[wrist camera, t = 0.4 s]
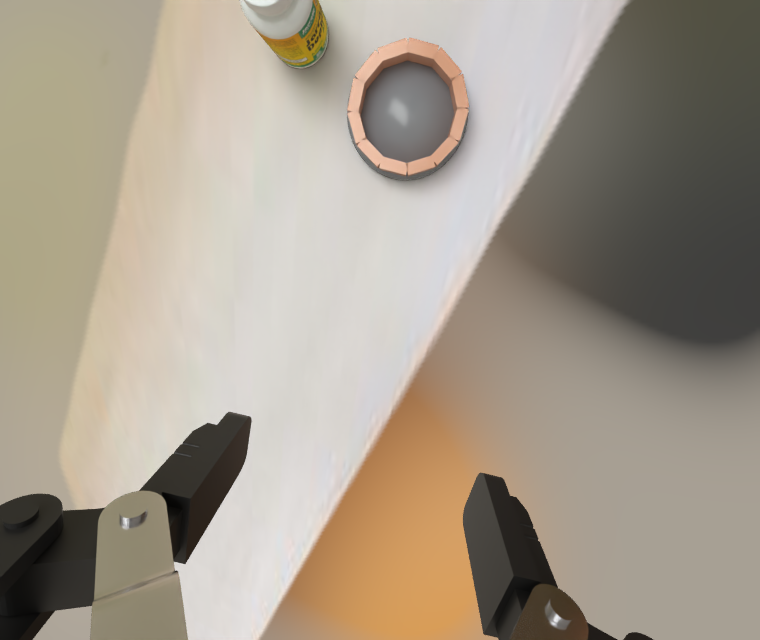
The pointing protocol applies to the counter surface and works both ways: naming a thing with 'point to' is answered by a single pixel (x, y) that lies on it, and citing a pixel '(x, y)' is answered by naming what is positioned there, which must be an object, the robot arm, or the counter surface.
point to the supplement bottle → (290, 28)
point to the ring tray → (407, 109)
